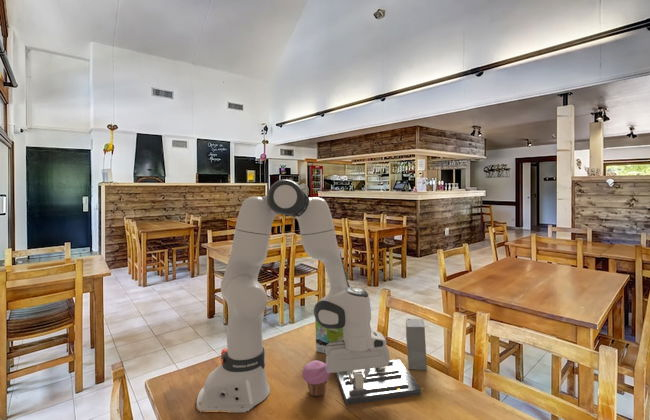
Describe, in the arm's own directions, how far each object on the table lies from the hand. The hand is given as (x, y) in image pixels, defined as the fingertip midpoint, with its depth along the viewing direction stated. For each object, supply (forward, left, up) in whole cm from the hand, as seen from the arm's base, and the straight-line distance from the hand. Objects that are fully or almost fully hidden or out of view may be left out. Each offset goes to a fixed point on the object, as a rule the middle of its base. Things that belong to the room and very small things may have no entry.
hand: (358, 381), depth 109 cm
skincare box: (+25, +12, -4) cm, 28 cm away
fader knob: (0, 0, -2) cm, 2 cm away
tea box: (-1, +27, -4) cm, 27 cm away
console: (+7, +4, -4) cm, 9 cm away
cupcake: (-13, +3, -4) cm, 14 cm away
